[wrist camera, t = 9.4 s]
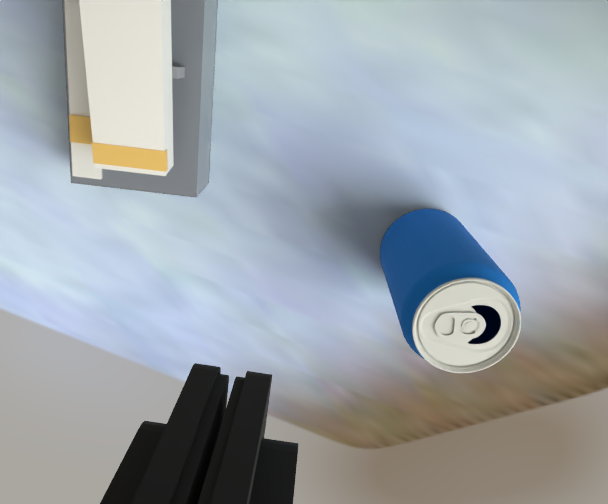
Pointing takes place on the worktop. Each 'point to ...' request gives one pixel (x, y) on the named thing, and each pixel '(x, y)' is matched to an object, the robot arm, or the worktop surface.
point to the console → (185, 95)
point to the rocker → (129, 83)
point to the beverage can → (448, 293)
